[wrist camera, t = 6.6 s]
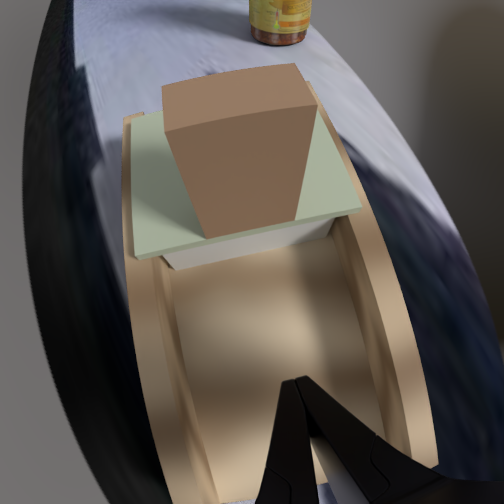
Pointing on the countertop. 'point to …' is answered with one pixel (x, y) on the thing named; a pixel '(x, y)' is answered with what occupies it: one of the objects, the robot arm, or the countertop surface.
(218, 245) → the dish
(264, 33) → the sauce bottle
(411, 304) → the countertop surface
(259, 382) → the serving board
